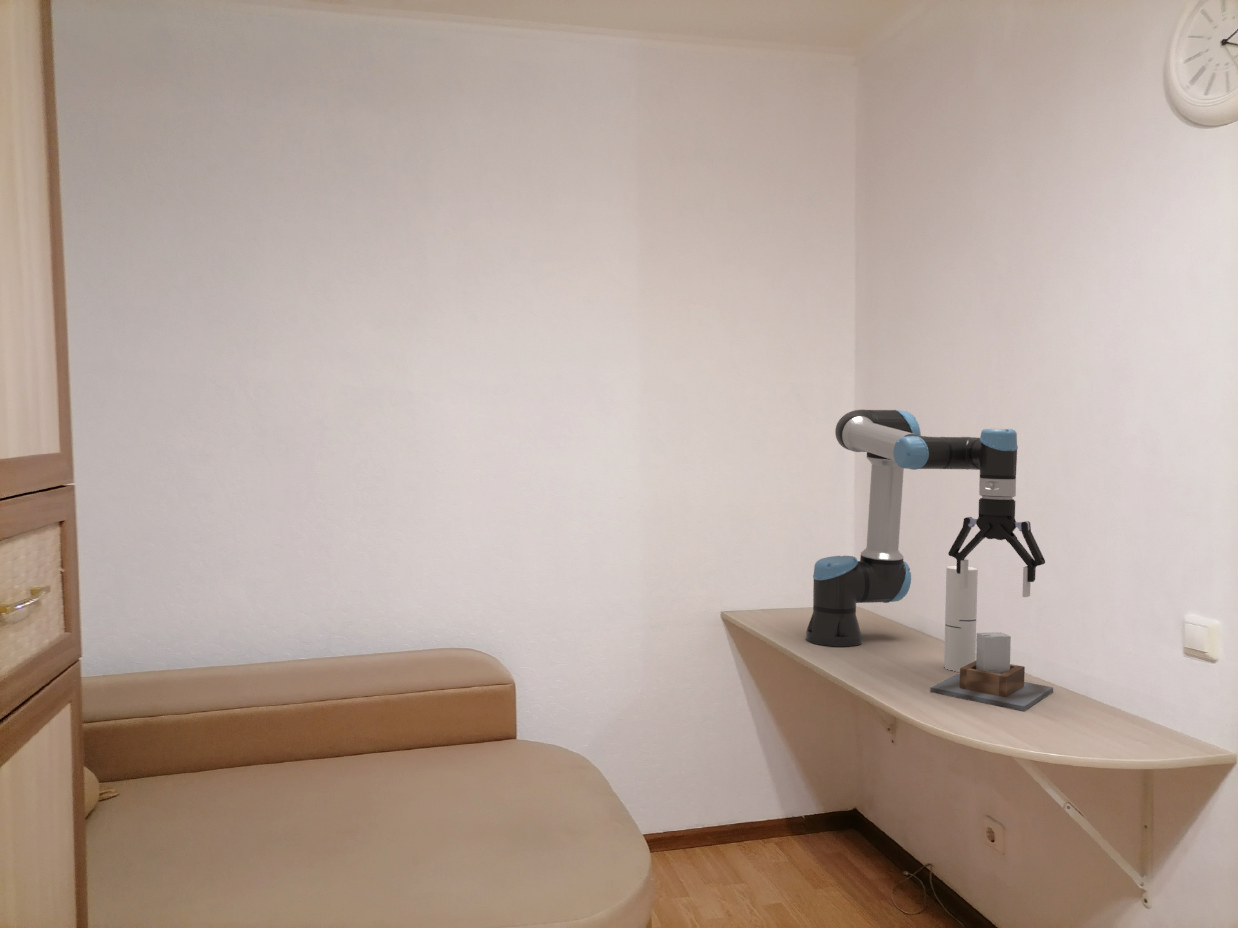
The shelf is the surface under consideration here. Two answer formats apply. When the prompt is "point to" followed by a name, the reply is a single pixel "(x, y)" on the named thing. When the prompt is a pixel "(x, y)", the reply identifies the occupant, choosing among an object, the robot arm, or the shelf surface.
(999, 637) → the skincare box
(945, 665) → the cylindrical container
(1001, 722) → the shelf surface
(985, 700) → the socket
